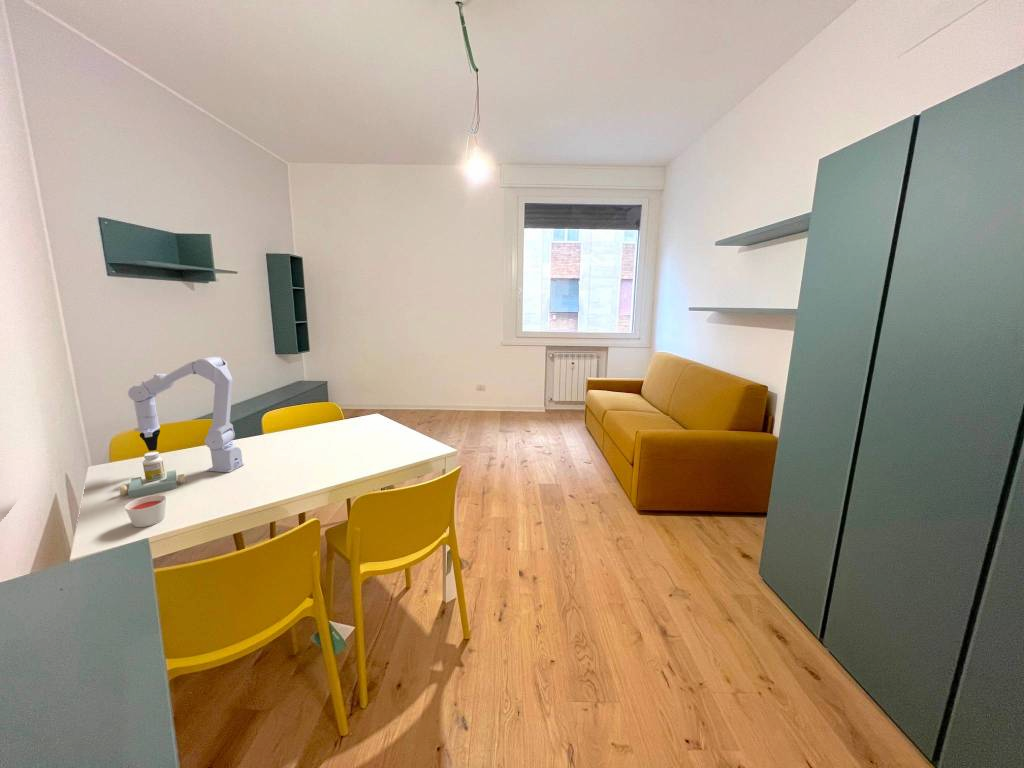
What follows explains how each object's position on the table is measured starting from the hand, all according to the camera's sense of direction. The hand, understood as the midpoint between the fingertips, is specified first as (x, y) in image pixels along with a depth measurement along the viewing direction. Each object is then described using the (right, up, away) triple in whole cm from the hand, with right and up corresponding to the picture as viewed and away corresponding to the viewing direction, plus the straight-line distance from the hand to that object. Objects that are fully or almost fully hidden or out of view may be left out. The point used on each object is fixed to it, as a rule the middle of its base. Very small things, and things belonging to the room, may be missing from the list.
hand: (153, 450), depth 150 cm
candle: (+28, -16, -32) cm, 46 cm away
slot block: (+10, -11, -11) cm, 19 cm away
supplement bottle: (+5, -10, -4) cm, 12 cm away
